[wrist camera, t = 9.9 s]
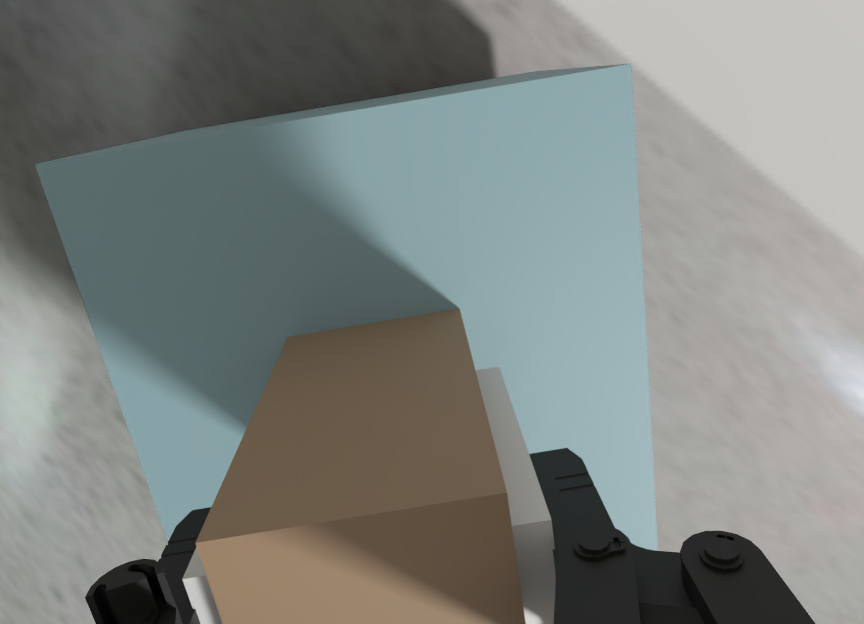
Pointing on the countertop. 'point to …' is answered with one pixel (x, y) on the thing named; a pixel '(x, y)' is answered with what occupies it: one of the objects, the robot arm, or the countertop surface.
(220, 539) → the pale blue storage box
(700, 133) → the countertop surface
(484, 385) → the robot arm
